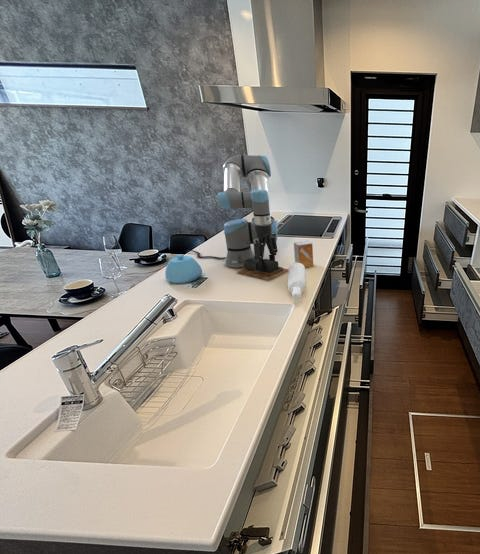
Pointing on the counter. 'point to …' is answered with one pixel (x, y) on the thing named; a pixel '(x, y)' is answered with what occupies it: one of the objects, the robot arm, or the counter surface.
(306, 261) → the small box
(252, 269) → the board
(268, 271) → the black rectangular block
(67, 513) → the counter surface
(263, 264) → the robot arm
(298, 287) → the bottle
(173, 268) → the sugar bowl
